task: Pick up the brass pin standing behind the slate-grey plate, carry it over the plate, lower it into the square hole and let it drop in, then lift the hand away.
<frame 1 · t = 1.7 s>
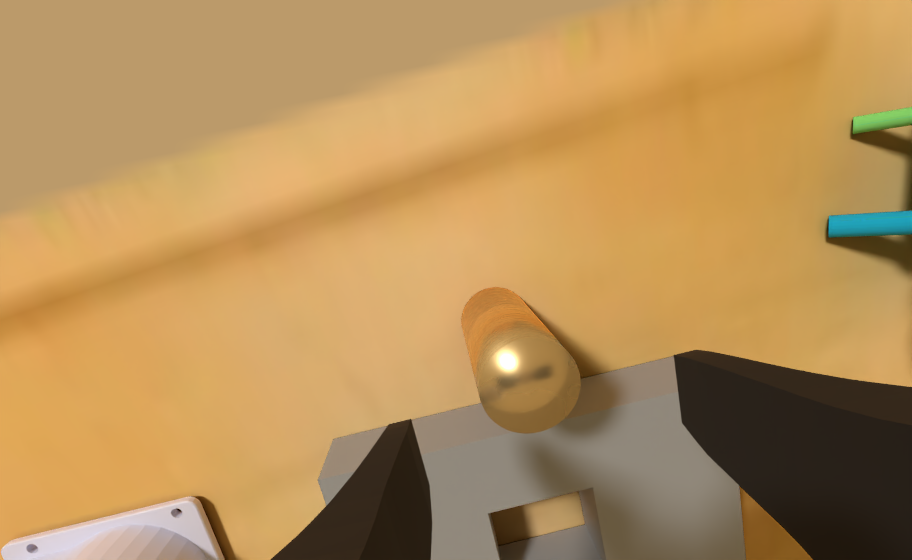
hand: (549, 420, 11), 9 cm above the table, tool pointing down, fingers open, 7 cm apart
hole plate: (533, 497, 22), on the table
brass pin: (495, 320, 20), on the table
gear: (886, 202, 20), on the table
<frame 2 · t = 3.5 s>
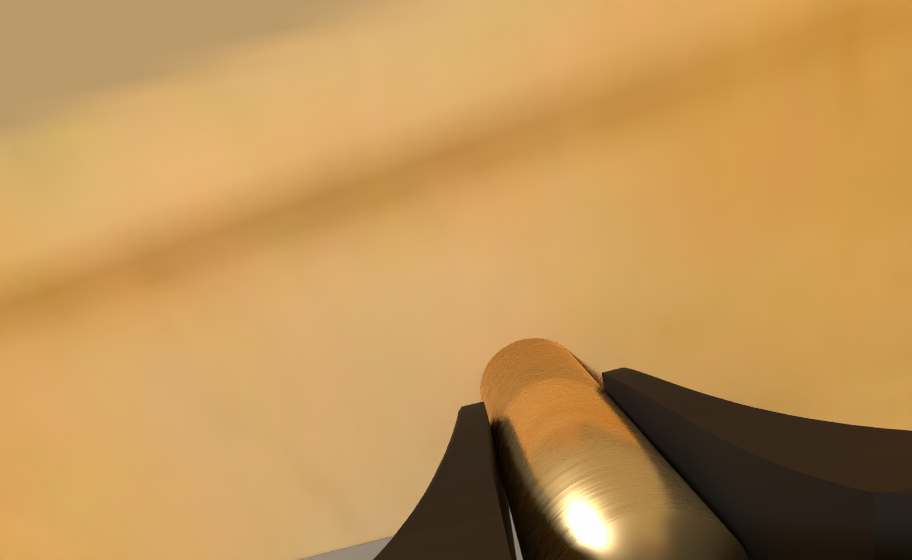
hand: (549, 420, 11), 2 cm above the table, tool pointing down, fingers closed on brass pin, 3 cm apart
brass pin: (531, 387, 13), on the table, touching gripper
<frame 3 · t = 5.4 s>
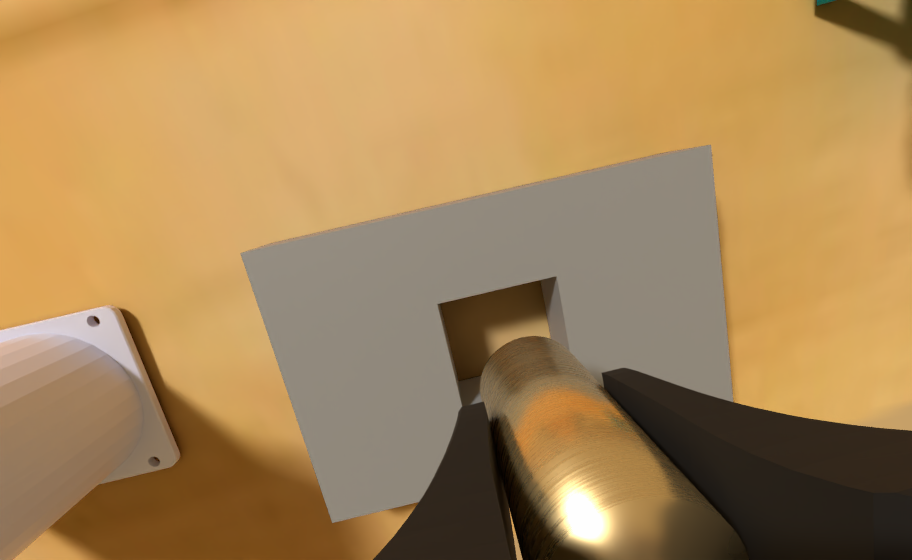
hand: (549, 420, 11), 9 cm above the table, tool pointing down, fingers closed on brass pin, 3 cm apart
hole plate: (496, 323, 20), on the table
brass pin: (531, 385, 13), point 7 cm above the table, touching gripper
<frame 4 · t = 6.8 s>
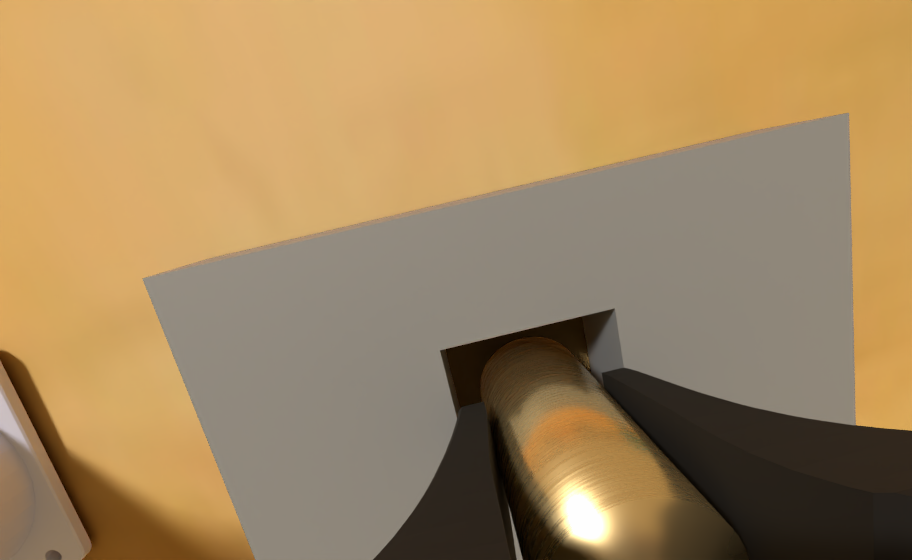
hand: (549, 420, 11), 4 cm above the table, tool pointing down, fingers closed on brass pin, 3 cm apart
hole plate: (520, 365, 15), on the table
brass pin: (531, 385, 13), point 2 cm above the table, touching gripper
when the fingers open (4 cm above the table, at t = 7.7 s): brass pin drops 2 cm, resting in hole plate.
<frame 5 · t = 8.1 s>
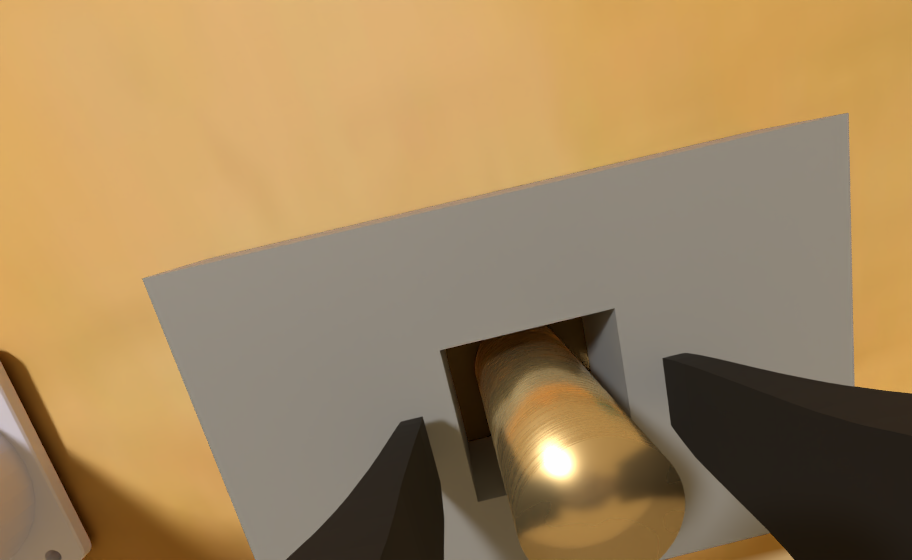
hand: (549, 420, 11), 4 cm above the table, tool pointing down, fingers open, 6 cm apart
hole plate: (520, 365, 15), on the table
brass pin: (520, 364, 15), resting in hole plate
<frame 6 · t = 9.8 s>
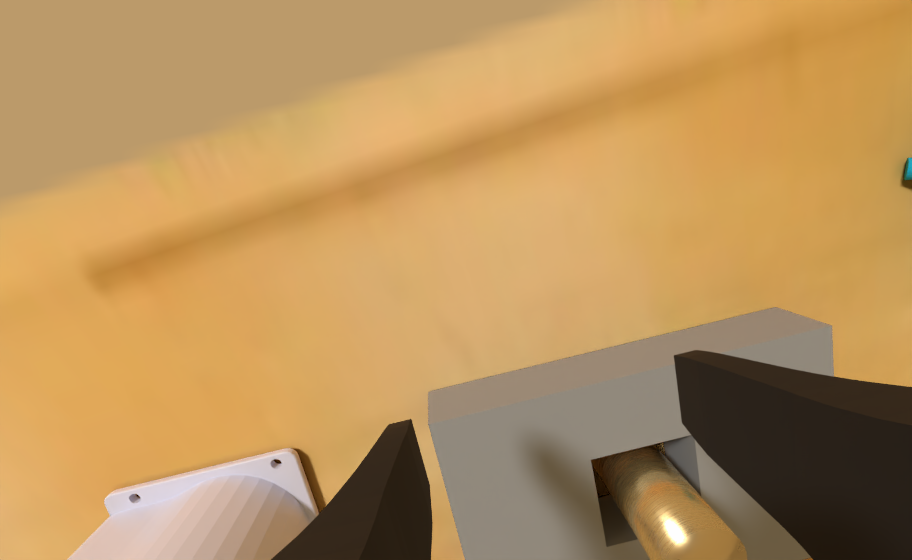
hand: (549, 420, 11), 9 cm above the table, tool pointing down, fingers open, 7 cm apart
hole plate: (620, 452, 22), on the table
brass pin: (620, 451, 22), resting in hole plate
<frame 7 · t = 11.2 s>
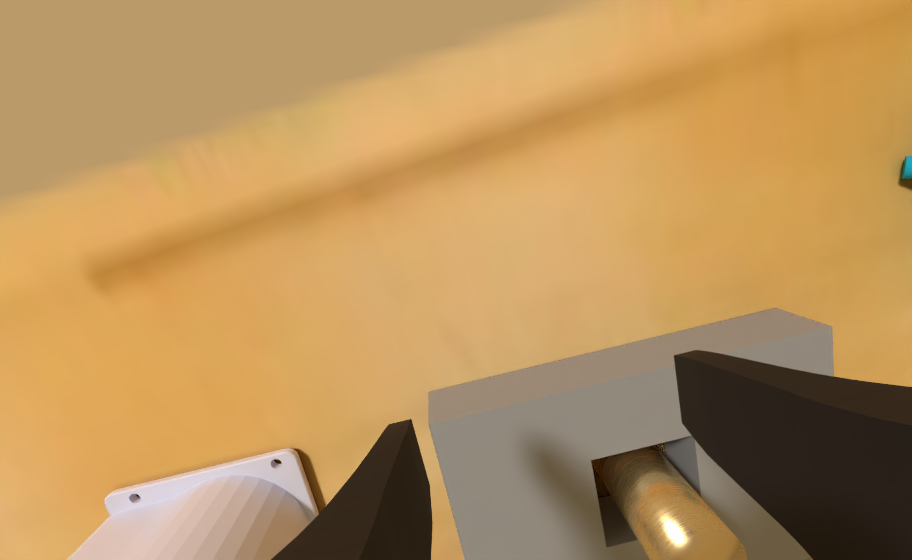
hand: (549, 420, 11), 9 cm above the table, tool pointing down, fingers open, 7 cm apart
hole plate: (620, 453, 22), on the table
brass pin: (620, 452, 22), resting in hole plate
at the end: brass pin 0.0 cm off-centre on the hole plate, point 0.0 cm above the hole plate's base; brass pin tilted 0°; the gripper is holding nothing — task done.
